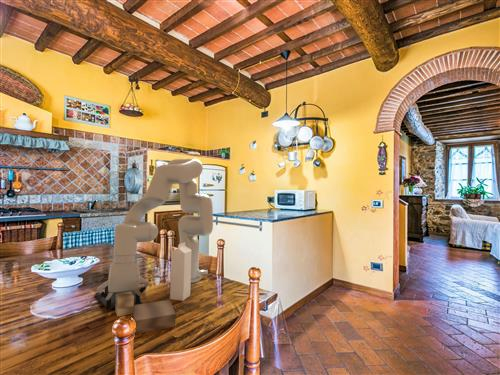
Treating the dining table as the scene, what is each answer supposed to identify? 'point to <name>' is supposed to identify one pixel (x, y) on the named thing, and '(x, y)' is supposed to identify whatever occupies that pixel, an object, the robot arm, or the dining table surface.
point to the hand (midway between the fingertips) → (123, 307)
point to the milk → (180, 273)
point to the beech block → (124, 303)
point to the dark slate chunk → (113, 297)
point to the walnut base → (154, 316)
